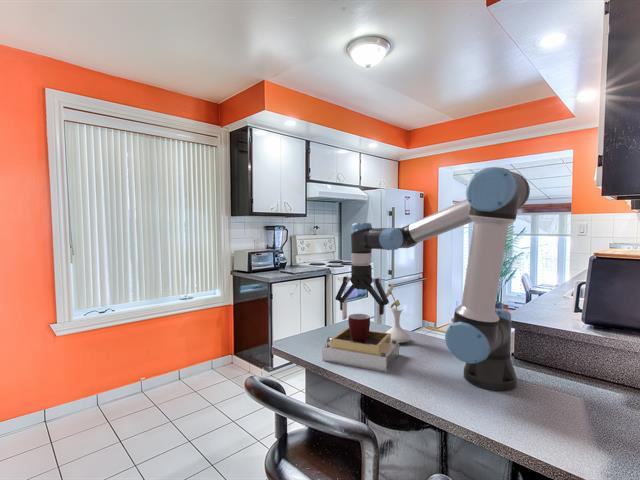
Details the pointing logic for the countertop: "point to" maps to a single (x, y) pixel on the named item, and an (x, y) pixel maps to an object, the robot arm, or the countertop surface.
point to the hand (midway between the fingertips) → (361, 321)
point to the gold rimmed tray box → (362, 350)
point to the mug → (359, 327)
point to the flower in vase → (397, 322)
